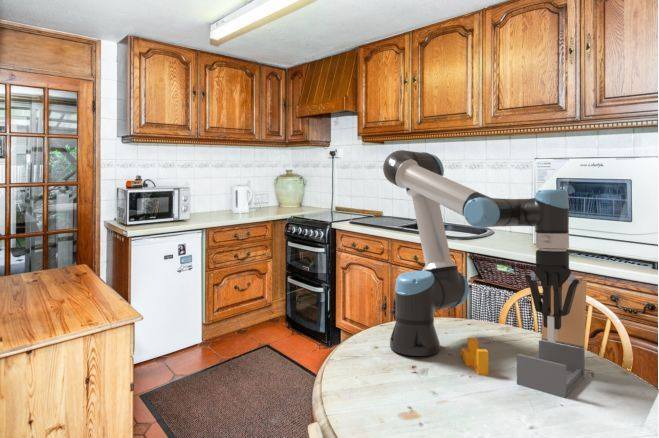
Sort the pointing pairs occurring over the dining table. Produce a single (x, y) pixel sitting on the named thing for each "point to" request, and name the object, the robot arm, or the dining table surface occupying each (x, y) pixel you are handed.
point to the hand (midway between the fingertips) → (552, 340)
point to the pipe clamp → (475, 356)
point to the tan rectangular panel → (571, 317)
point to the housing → (552, 369)
